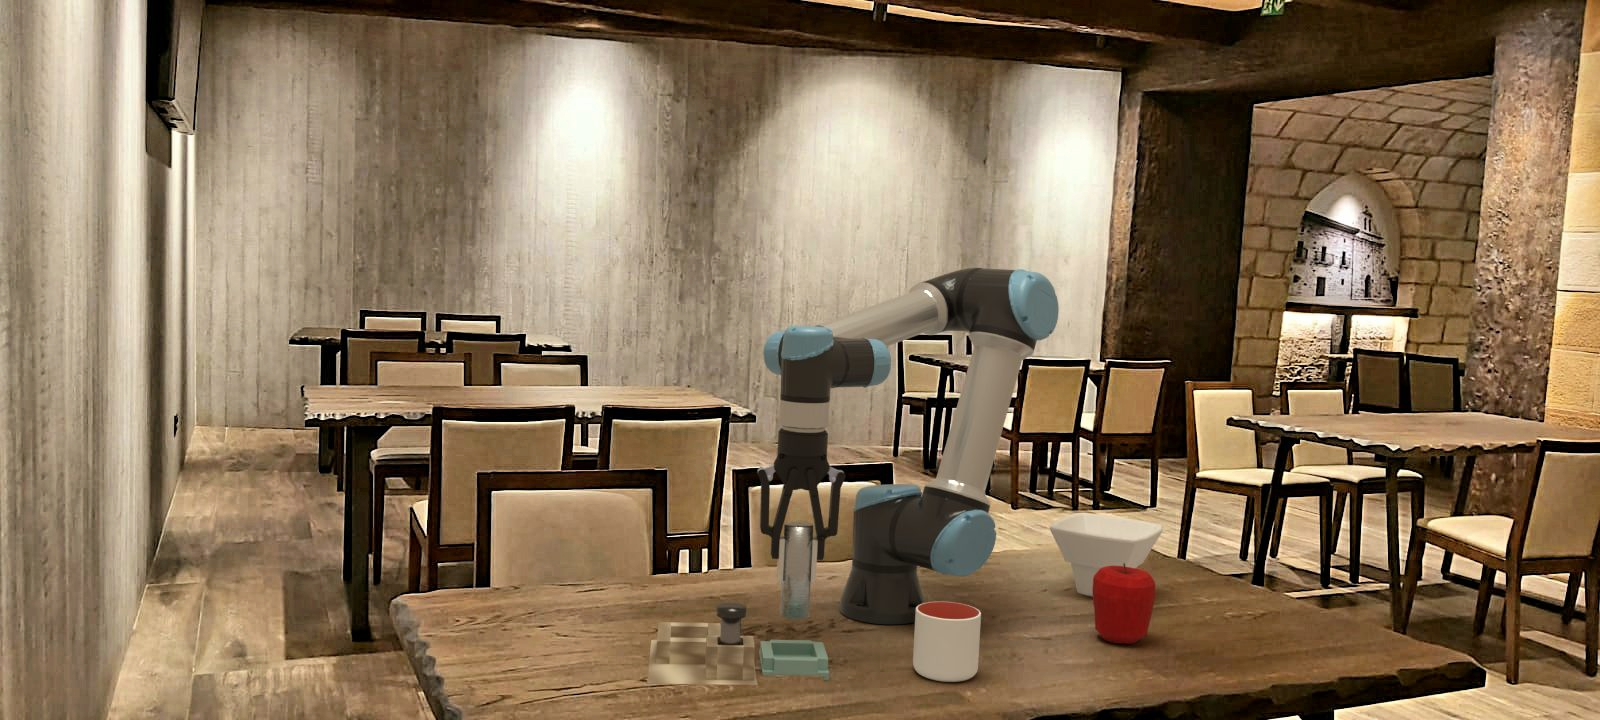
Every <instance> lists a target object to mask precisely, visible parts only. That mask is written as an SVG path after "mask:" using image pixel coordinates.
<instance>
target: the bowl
mask: <svg viewBox="0 0 1600 720" xmlns="http://www.w3.org/2000/svg"><path fill="white" fill-rule="evenodd" d="M1163 528H1164V526H1163V525H1162V524H1159V523H1155V522H1154V523H1153V522H1149V521H1144V520H1140V519H1139V520H1138V519H1131V518H1128V517H1122V516H1121V517H1120V516H1114V515H1105V514H1098V513H1090V512H1089V513H1088V512H1077V513H1072V514H1068V515H1067V516H1064V517H1061V518H1058V519H1056V520H1055V521H1053V522H1052V523H1051V524H1050V526H1049V530H1050V533H1051V535H1052V537H1053V539H1054V541H1055V543H1056V545H1057V547H1058V549H1059V551H1060V553H1061V556H1063V558H1064V562H1066V563H1067V562H1068V563H1070V565H1071V569H1072V570H1071V571H1072V574H1073V578H1074V584H1075V588H1076V592H1077V593H1078V594H1081V595H1085V596H1089V597H1093V592H1092V589H1093V577H1094V575H1095V574H1096V573H1097V572H1098V570H1099V569H1100V568H1102V567H1106V566H1124V565H1123V564H1124V563H1125V567H1130V568H1136V569H1137V568H1138V567H1139V566H1140V565H1142V564H1144V562H1145V560H1146V559H1147V557H1148V555H1149V554H1150V552H1151V550H1152V549H1153V548H1154V546H1155V544H1156V543H1157V541H1158V540H1159V538H1160V536H1161V534H1162V533H1163V530H1164V529H1163Z"/></svg>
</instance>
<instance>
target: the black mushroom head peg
mask: <svg viewBox="0 0 1600 720" xmlns="http://www.w3.org/2000/svg"><path fill="white" fill-rule="evenodd" d="M716 616H717V617H718V618H720V625H721V634H720V645H740V639H741V636H742V635H741V634H742V633H741V632H742V619H744V618H746V617H747V605H744V604H742V603H737V602H736V603H735V602H725V603H719V604H717V605H716Z"/></svg>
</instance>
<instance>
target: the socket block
mask: <svg viewBox="0 0 1600 720" xmlns="http://www.w3.org/2000/svg"><path fill="white" fill-rule="evenodd" d="M657 626H658V627H657V637H656V639H651V641H650V650H649V660H648V667H647V668H648V669H647V670H648V671H647V681H646V685H704V686H705V685H711V686H713V685H714V686H715V685H717V686H719V685H720V686H724V685H725V686H737V685H738V686H758V680H757V674H756V673H757V671H756V665H755V653H756V651H755V649H756V647H755V640H754V636H753V635H741V639H740V645H720V634H721V622H680V621H679V622H676V621H675V622H670V621H669V622H668V621H662V622H661V621H659V622H658V624H657Z"/></svg>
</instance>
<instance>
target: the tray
mask: <svg viewBox="0 0 1600 720" xmlns="http://www.w3.org/2000/svg"><path fill="white" fill-rule="evenodd" d="M758 656H759V657H758V658H759V662H760V668H761V674H762V675H764V676H768V675H769V676H771V675H772V676H822V678H823V681H829V680H830V670H829V657H828V654H827V650H826V648H825V645H824V642H823V641H813V640H810V639H809V640H808V639H770V640H766V641H765V640H760V646H759V650H758Z"/></svg>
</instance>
